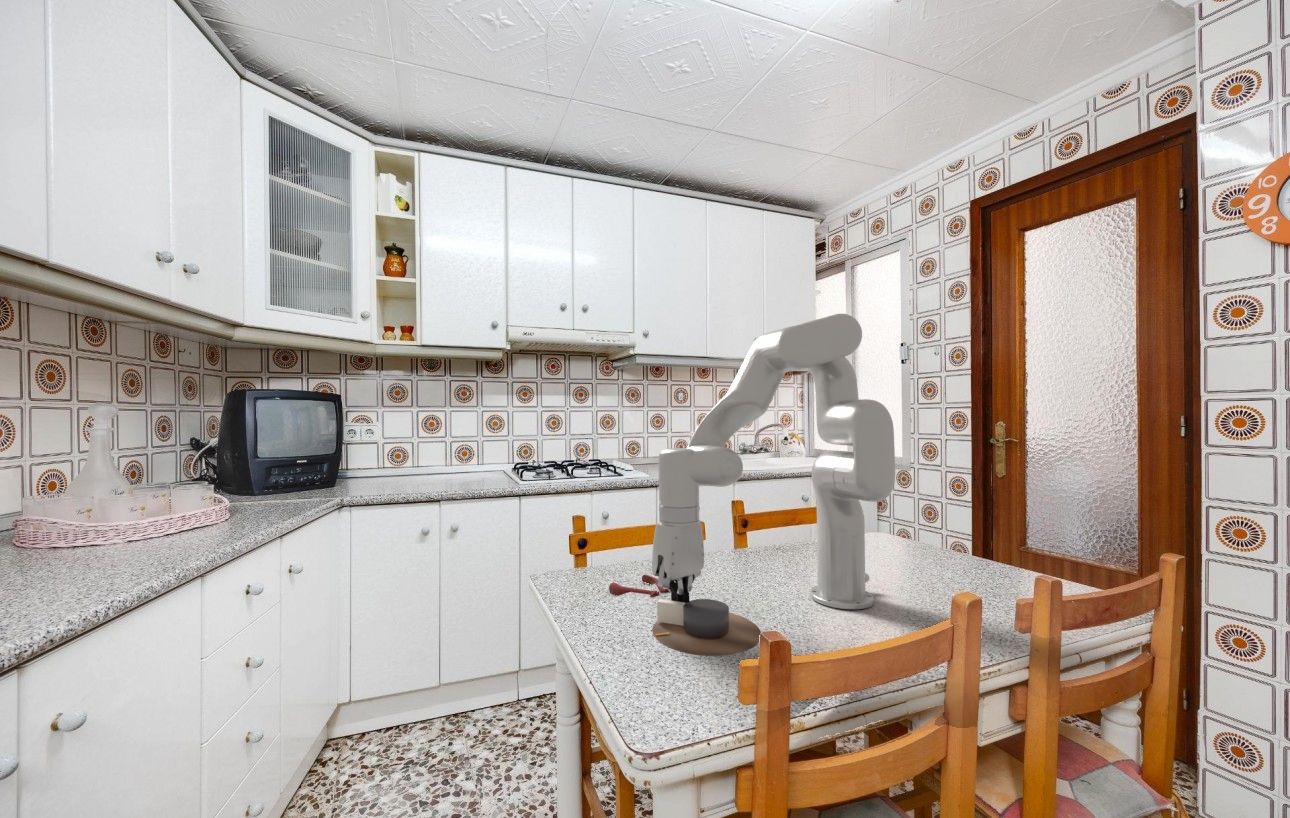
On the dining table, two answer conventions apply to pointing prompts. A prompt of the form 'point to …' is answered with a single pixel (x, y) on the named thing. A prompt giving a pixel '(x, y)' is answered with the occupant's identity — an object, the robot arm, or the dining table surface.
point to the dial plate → (735, 641)
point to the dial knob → (696, 616)
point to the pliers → (621, 590)
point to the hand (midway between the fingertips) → (680, 612)
